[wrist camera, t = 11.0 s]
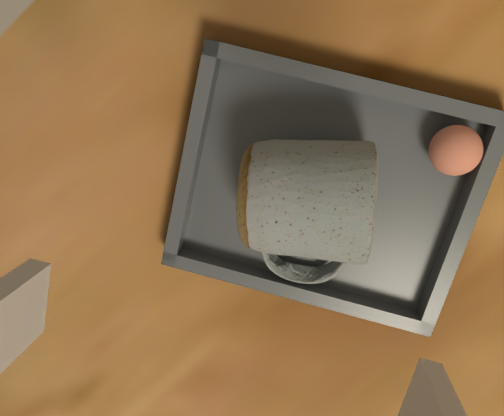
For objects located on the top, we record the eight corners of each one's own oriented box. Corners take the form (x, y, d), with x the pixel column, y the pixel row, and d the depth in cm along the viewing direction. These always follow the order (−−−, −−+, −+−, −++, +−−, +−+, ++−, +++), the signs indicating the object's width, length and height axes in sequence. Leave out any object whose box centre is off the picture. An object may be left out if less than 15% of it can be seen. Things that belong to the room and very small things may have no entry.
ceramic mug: (249, 131, 33) (231, 150, 25) (370, 133, 32) (387, 152, 24) (250, 272, 36) (234, 325, 28) (360, 277, 35) (373, 333, 27)
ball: (418, 164, 32) (424, 171, 29) (434, 117, 31) (442, 120, 28) (466, 176, 32) (477, 186, 29) (484, 130, 31) (497, 134, 28)
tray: (169, 253, 37) (161, 263, 34) (211, 40, 32) (204, 38, 30) (423, 321, 36) (430, 336, 33) (504, 112, 31) (518, 114, 29)
